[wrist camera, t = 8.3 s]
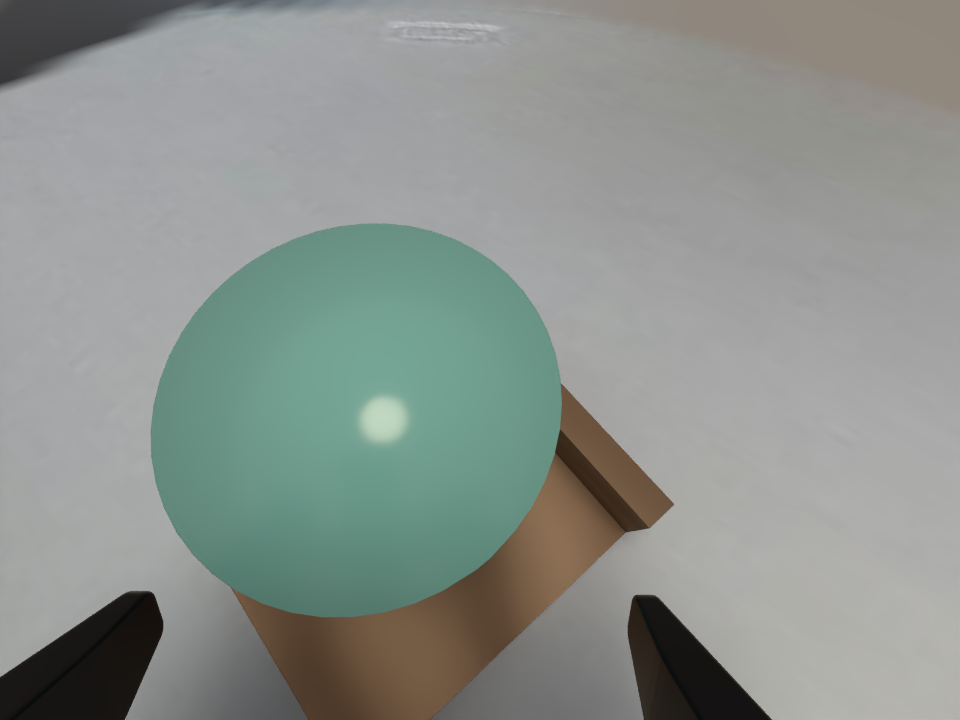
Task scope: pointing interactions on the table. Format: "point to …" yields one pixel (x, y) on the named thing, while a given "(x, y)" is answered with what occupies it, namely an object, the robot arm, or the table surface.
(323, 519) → the mint green capsule
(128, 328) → the table surface
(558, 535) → the shelf board
